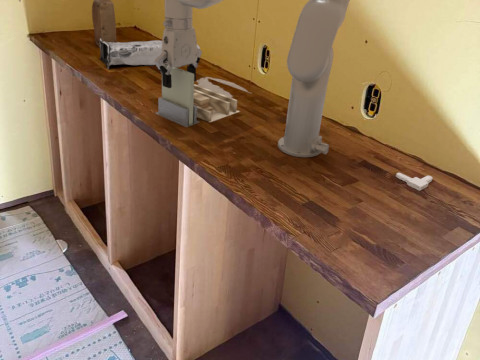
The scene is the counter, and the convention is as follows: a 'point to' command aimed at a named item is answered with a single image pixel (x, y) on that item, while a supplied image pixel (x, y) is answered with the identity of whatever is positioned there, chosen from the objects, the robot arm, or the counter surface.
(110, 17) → the block
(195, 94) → the offcut stack
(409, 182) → the corner connector
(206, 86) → the stone tablet
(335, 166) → the counter surface
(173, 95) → the grey-green panel
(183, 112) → the stand
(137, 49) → the concrete block
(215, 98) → the rack
